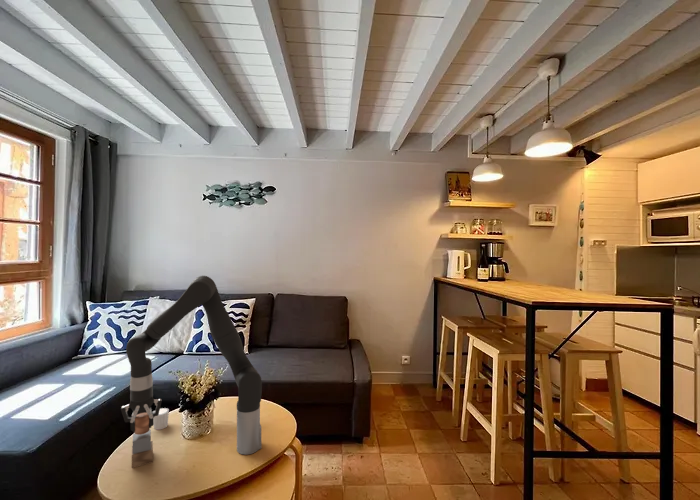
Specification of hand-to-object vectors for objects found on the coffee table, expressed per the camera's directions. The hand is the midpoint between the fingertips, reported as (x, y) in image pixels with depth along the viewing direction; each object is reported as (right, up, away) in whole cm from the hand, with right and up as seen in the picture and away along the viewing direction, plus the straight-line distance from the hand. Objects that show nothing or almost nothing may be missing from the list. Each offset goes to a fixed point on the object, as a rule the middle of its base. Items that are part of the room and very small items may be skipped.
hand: (142, 428), depth 139 cm
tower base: (0, -13, +1) cm, 13 cm away
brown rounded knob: (0, -1, 0) cm, 1 cm away
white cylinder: (-6, -11, +25) cm, 28 cm away
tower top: (0, -8, 0) cm, 8 cm away
